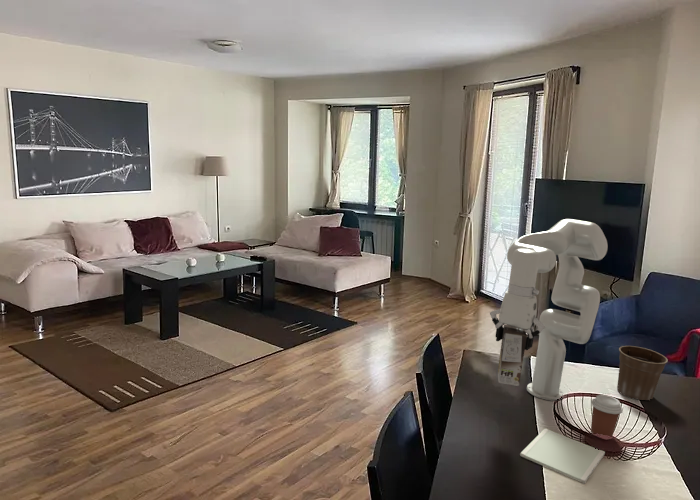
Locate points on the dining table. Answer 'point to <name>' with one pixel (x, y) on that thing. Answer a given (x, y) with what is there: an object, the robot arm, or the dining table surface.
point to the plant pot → (639, 372)
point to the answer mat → (563, 455)
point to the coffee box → (511, 355)
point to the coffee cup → (605, 414)
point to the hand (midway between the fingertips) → (513, 344)
